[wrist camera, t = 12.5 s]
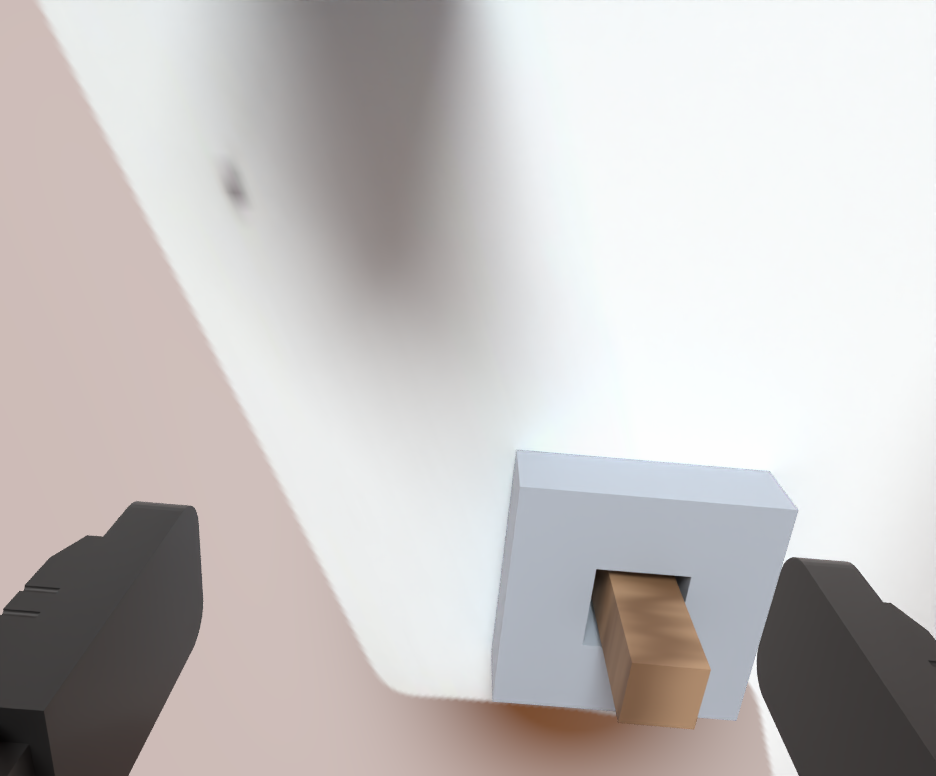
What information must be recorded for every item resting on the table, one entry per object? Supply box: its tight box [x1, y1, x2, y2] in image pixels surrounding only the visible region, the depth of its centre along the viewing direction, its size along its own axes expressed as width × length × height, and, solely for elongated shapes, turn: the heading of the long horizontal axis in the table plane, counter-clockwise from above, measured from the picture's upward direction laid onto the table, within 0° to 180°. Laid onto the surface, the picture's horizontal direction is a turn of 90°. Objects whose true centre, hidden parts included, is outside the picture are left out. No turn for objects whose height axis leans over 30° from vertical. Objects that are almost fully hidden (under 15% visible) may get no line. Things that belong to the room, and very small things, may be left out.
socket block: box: [492, 450, 798, 721], centre depth 42 cm, size 14×14×4 cm
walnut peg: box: [591, 569, 711, 729], centre depth 39 cm, size 4×4×10 cm
